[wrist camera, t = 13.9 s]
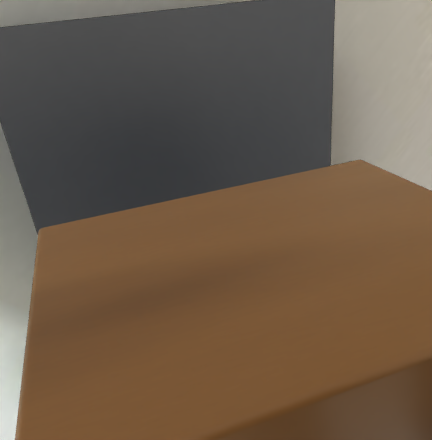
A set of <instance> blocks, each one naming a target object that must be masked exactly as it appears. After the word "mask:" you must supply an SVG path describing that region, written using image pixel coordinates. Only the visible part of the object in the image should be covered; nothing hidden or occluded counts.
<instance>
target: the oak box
mask: <svg viewBox="0 0 432 440" xmlns="http://www.w3.org/2000/svg"><path fill="white" fill-rule="evenodd" d="M15 440H432V191H431V190H428V189H426V188H424V187H422V186H419V185H417V184H415V183H413V182H410V181H408V180H406V179H404V178H401V177H399V176H397V175H395V174H392V173H390V172H388V171H386V170H383V169H381V168H379V167H377V166H374V165H372V164H370V163H368V162H365V161H363V160H356V161H351V162H346V163H342V164H337V165H332V166H328V167H323V168H318V169H314V170H309V171H305V172H300V173H295V174H291V175H286V176H281V177H277V178H272V179H267V180H263V181H258V182H253V183H249V184H244V185H239V186H235V187H230V188H226V189H221V190H216V191H212V192H207V193H202V194H198V195H193V196H188V197H184V198H179V199H174V200H170V201H165V202H160V203H156V204H151V205H146V206H142V207H137V208H133V209H128V210H123V211H119V212H114V213H109V214H105V215H100V216H95V217H91V218H86V219H81V220H77V221H72V222H67V223H63V224H58V225H53V226H49V227H44V228H41V229H40V230H39V232H38V240H37V249H36V258H35V267H34V276H33V284H32V293H31V302H30V311H29V320H28V329H27V337H26V346H25V355H24V364H23V373H22V382H21V390H20V399H19V408H18V417H17V426H16V434H15Z"/></svg>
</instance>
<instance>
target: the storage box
mask: <svg viewBox="0 0 432 440" xmlns="http://www.w3.org/2000/svg"><path fill="white" fill-rule="evenodd" d="M334 19H335V0H256V1H246V2H237V3H227V4H218V5H208V6H199V7H189V8H180V9H170V10H161V11H151V12H142V13H132V14H123V15H113V16H104V17H94V18H84V19H75V20H65V21H56V22H46V23H37V24H27V25H18V26H8V27H0V123H1V126H2V129H3V132H4V135H5V138H6V141H7V144H8V147H9V150H10V153H11V156H12V159H13V162H14V165H15V168H16V171H17V174H18V177H19V180H20V183H21V186H22V189H23V192H24V195H25V198H26V201H27V204H28V207H29V210H30V213H31V216H32V219H33V222H34V225H35V228H36V231H37V234H38V232H39V230H40V229H41V228H44V227H49V226H53V225H58V224H63V223H67V222H72V221H77V220H81V219H86V218H91V217H95V216H100V215H105V214H109V213H114V212H119V211H123V210H128V209H133V208H137V207H142V206H146V205H151V204H156V203H160V202H165V201H170V200H174V199H179V198H184V197H188V196H193V195H198V194H202V193H207V192H212V191H216V190H221V189H226V188H230V187H235V186H239V185H244V184H249V183H253V182H258V181H263V180H267V179H272V178H277V177H281V176H286V175H291V174H295V173H300V172H305V171H309V170H314V169H318V168H323V167H328V166H330V161H331V126H332V90H333V55H334Z"/></svg>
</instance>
